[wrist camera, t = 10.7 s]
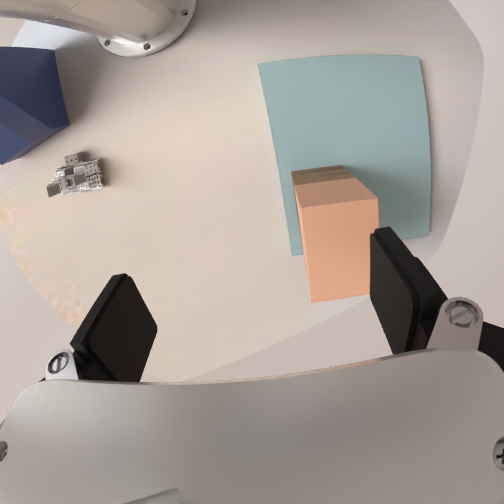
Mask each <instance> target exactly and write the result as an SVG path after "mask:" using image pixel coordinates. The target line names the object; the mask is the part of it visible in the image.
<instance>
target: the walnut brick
mask: <svg viewBox="0 0 504 504" xmlns="http://www.w3.org/2000/svg"><path fill="white" fill-rule="evenodd" d="M291 177H292V183H293V190H294V196H295V203H296V210H297V217H298V224H299V231H300V238H301V244H302V237H301V229H300V222H299V215H298V208H297V201H296V194H295V187H294V186H295V185H302V184H309V183H316V182H324V181H332V180H340V179H349V178H356V177H354V176H353V175H352V174H351V173H350V172H349V171H348V170H346V169H345V168H344V167H343V166H342V165H337V166H328V167H320V168H313V169H305V170H298V171H291ZM302 249H303V245H302ZM303 254H304V253H303Z"/></svg>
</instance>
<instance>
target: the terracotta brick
mask: <svg viewBox="0 0 504 504" xmlns="http://www.w3.org/2000/svg"><path fill="white" fill-rule="evenodd" d="M294 187H295V194H296V201H297V208H298V215H299V222H300V229H301V237H302V245H303V253H304V261H305V268H306V274H307V279H308V285H309V290H310V296H311V302H312V303H315V302H322V301H329V300H336V299H342V298H348V297H355V296H361V295H367V294H370V234H371V233H374V230H375V229H377V228H379V221H378V198H377V197H376V196H375V195H374V194H373V193H372V192H371V191H370V190H369V189H367V188H366V187H365V186H364V185H363V184H362V183H361V182H360V181H359V180H357V179H356V178H349V179H340V180H332V181H324V182H316V183H309V184H302V185H295V186H294Z"/></svg>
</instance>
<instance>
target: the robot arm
mask: <svg viewBox="0 0 504 504" xmlns="http://www.w3.org/2000/svg"><path fill="white" fill-rule="evenodd" d="M196 3H197V0H0V17H7V18H17V19H25V20H31V21H37V22H42V23H47V24H52V25H57V26H61V27H66V28H70V29H74V30H78V31H82V32H86V33H89V34H93V35H96V37H97V39H98V41H99V43H100V44H101V46H102V47H103V48H104V49H105V50H107V51H108V52H110V53H112V54H115V55H118V56H122V57H132V58H135V57H142V56H146V55H149V54H152V53H155V52H157V51H159V50H161V49H163V48H165V47H166V46H167V45H169V44H170V43H172V42H173V41H174V40H175V39H176V38H177V37H179V36H180V35H181V34H182V32H183V31H184V30H185V29H186V28H187V26H188V24H189V23H190V21H191V19H192V17H193V15H194V12H195V9H196ZM186 13H188V14H187V15H186V16H184V15H185V14H186ZM150 46H151V48H150V49H149V47H150ZM370 298H371V301H372V304H373V306H374V308H375V311H376V313H377V316H378V318H379V320H380V323H381V325H382V328H383V330H384V333H385V335H386V338H387V340H388V343H389V345H390V348H391V350H392V353H393V355H390V356H385V357H380V358H376V359H371V360H366V361H362V362H356V363H351V364H346V365H340V366H335V367H329V368H323V369H317V370H311V371H304V372H297V373H290V374H282V375H275V376H266V377H255V378H245V379H233V380H219V381H201V382H146V383H145V382H140V379H141V376H142V373H143V371H144V368H145V365H146V362H147V359H148V356H149V353H150V350H151V348H152V345H153V342H154V339H155V337H156V334H157V325H156V323H155V321H154V319H153V317H152V315H151V314H150V312H149V310H148V308H147V306H146V304H145V302H144V300H143V299H142V297H141V295H140V293H139V291H138V289H137V287H136V285H135V283H134V281H133V279H132V278H131V277H130V276H128V275H127V274H125V273H124V274H119V275H113V276H112V277H111V279H110V280H109V282H108V283H107V285H106V286H105V288H104V289H103V291H102V292H101V294H100V295H99V297H98V298H97V300H96V301H95V303H94V304H93V306H92V308H91V309H90V311H89V312H88V314H87V316H86V317H85V319H84V320H83V322H82V324H81V325H80V327H79V329H78V330H77V332H76V334H75V336H74V337H73V339H72V341H71V342H70V345H71V346H72V347H73V349H74V350H75V351H74V352H73V353H72V352H71V351H70V350H67V349H63V350H60V351H58V352H56V353H55V354H53V355H52V356H51V358H50V359H49V360H48V362H47V363H46V366H45V378H43V379H42V380H41V381H39V382H38V383H34V384H32V385H30V386H28V387H26V388H24V389H23V390H22V391H21V392H20V394H19V395H18V397H17V398H16V400H15V401H14V403H13V405H12V407H11V409H10V410H9V412H8V414H7V416H6V418H5V419H4V421H3V422H2V423H1V424H0V504H504V328H501V327H498V326H495V325H493V324H490V323H487V322H484V321H483V312H482V310H481V308H480V307H479V306H478V304H476V303H475V302H474V301H472V300H470V299H467V298H462V297H455V298H451V299H448V298H447V297H446V295H445V294H444V292H443V291H442V290H441V288H440V287H439V285H438V284H437V282H436V281H435V280H434V278H433V277H432V276H431V274H430V273H429V271H428V270H427V269H426V267H425V266H424V265H423V263H422V262H421V261H420V259H418V258H417V257H414V256H413V255H412V253H411V252H410V251H409V249H408V248H407V247H406V246H405V244H404V243H403V242H402V241H401V239H400V238H399V237H398V236H397V234H396V233H395V232H394V231H393V230H392V228H391V227H390V226H388V227H382V228H377V229H375V230H374V233H371V234H370Z"/></svg>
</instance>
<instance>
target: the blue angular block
mask: <svg viewBox="0 0 504 504" xmlns="http://www.w3.org/2000/svg"><path fill="white" fill-rule="evenodd" d="M69 125H70V124H69V120H68V117H67V113H66V109H65V104H64V100H63V96H62V91H61V86H60V82H59V77H58V71H57V66H56V60H55V54H54V50H48V49H38V48H24V47H0V164H1V165H2V164H5V163H7V162H10V161H13V160H15V159H18V158H20V157H21V156H23V155H24V154H25V153H27V152H28V151H30V150H31V149H33V148H34V147H36V146H37V145H39V144H40V143H42V142H43V141H45V140H46V139H48V138H49V137H51V136H53V135H54V134H56V133H57V132H59V131H61V130H62V129H64V128H66V127H67V126H69Z"/></svg>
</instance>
